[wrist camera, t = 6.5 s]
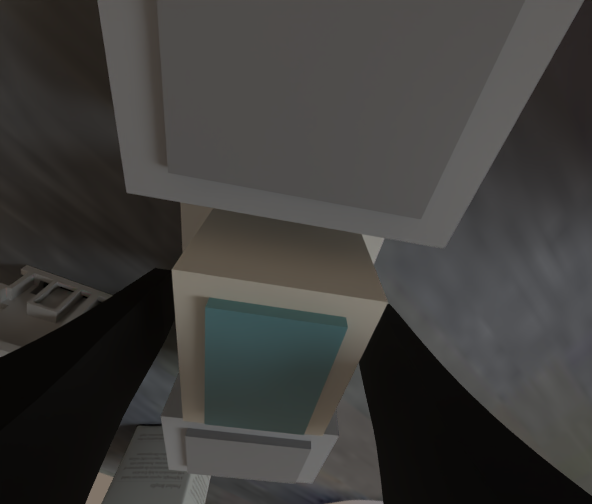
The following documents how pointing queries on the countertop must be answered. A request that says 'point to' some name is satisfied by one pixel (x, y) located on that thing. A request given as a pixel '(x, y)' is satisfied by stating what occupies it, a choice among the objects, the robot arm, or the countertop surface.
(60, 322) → the circuit breaker
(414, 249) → the countertop surface
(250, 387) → the block
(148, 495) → the skincare box
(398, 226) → the rail board
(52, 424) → the robot arm
